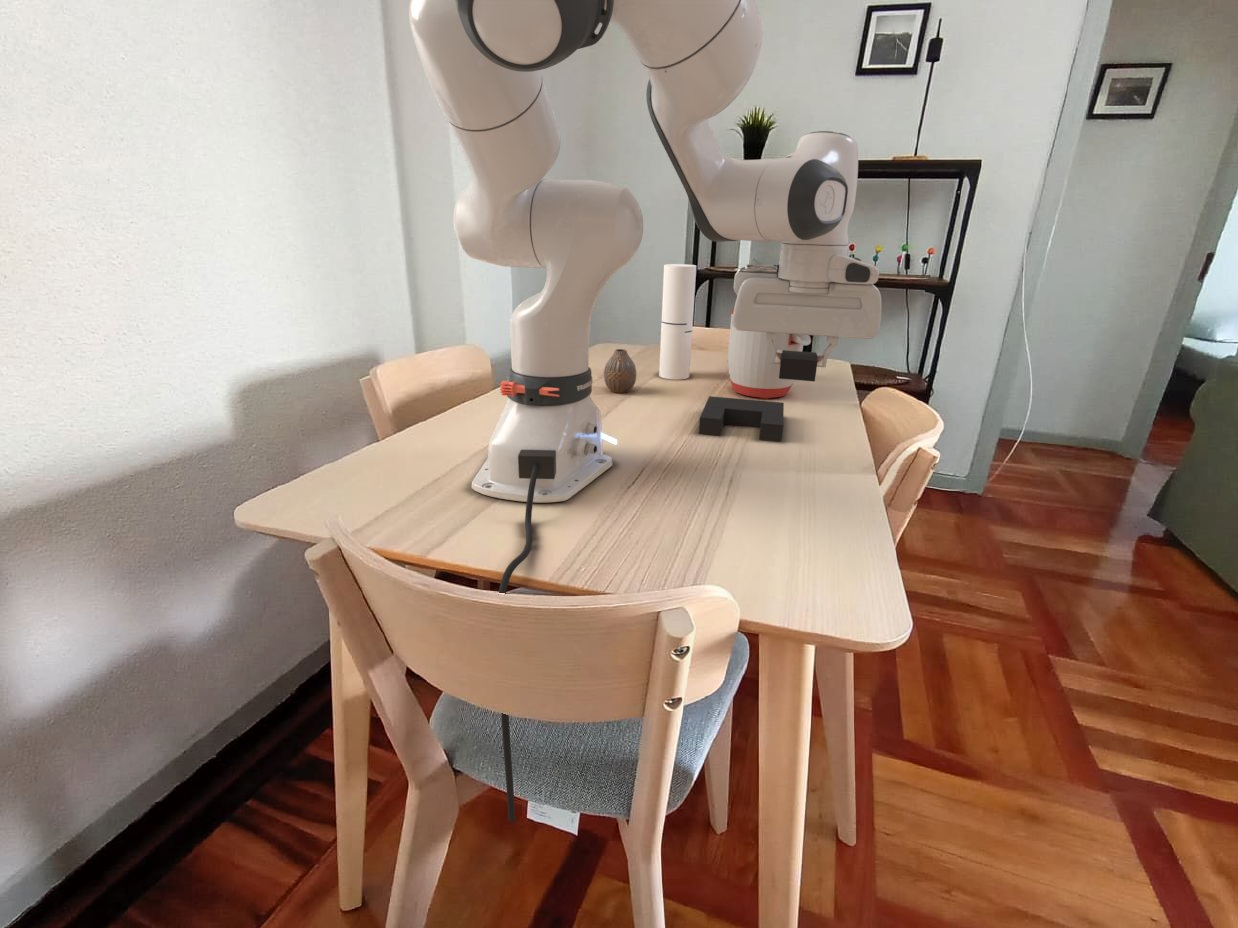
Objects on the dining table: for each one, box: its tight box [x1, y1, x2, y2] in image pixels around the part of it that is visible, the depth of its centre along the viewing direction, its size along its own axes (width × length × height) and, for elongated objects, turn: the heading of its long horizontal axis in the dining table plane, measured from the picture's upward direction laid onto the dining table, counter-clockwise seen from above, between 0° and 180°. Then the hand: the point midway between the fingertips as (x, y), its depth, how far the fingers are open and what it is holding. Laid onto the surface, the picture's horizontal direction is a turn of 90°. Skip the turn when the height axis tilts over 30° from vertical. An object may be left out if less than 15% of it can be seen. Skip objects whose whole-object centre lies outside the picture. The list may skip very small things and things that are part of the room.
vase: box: [603, 348, 637, 394], centre depth 129 cm, size 7×7×9 cm
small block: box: [779, 350, 818, 382], centre depth 90 cm, size 6×5×3 cm
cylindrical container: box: [658, 263, 697, 381], centre depth 140 cm, size 7×7×25 cm
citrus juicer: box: [727, 309, 812, 400], centre depth 128 cm, size 16×17×20 cm
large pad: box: [698, 395, 785, 443], centre depth 110 cm, size 14×14×3 cm
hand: (798, 364), depth 90 cm, fingers closed on small block, 5 cm apart
